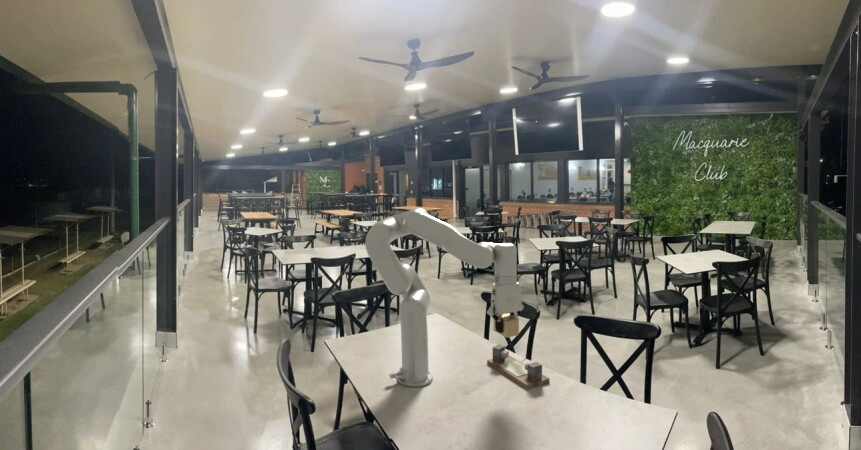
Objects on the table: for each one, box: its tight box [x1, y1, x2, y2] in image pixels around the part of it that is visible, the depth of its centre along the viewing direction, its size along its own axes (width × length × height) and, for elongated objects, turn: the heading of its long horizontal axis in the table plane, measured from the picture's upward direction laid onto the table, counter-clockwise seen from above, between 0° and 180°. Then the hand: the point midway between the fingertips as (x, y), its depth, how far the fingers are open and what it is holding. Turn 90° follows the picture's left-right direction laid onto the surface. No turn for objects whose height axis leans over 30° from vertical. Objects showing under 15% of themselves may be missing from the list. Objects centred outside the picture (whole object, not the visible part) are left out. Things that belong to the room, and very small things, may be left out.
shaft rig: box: [486, 344, 550, 390], centre depth 174 cm, size 10×24×7 cm, turn 27°
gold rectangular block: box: [492, 313, 520, 339], centre depth 164 cm, size 5×8×6 cm, turn 25°
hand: (505, 329), depth 164 cm, fingers closed on gold rectangular block, 5 cm apart
